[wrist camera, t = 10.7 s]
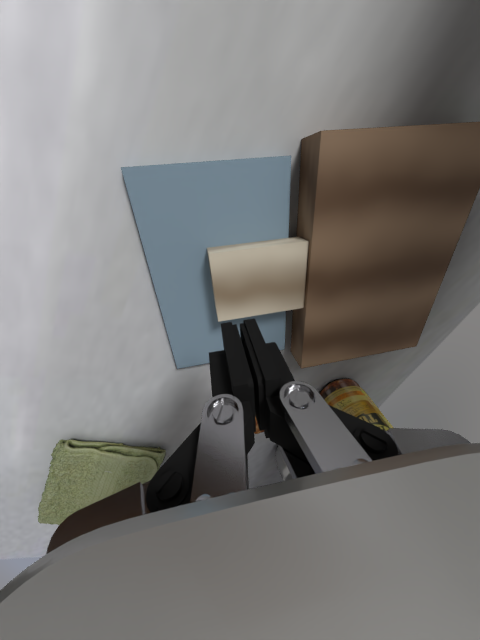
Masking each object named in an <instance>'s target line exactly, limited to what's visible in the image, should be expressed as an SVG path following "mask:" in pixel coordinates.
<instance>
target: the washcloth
mask: <svg viewBox="0 0 480 640" xmlns="http://www.w3.org/2000/svg"><path fill="white" fill-rule="evenodd" d="M165 454H166V450H160V447H159V448H150V447H131V446H127V445H123V444H122V443H120V444H117V443H108V442H83V441H76V440H72V439H71V440H60V441H59V442H58V444H56V447H55V448H54V450H53V453H52V454H51V456H52V457H53V459H52V461H51V463H50V464H51V466H50V468H49V469H50V470H49V471H50V472H49V475H48V478H47V481H46V484H45V485H46V486H45V491H44V492H43V493H42V499H41V500H42V501H41V502H40V504H39V508H38V511H39V516H38V517H39V518H38V522H39V523H46V524H47V523H48V524H58V525H60V524H61V523H62V522H63V521H64V520H65V519H66V518H67V517H68V516H70V515H71V514H73V513H74V512H76V511H78V510H80V509H82V508H84V507H86V506H89V505H91V504H93V503H95V502H97V501H99V500H102V499H104V498H106V497H108V496H110V495H112V494H115V493H117V492H119V491H121V490H123V489H125V488H128V487H130V486H132V485H134V484H136V483H138V482H141V484H143V483H145V482H148V481H150V480H151V479H152V478H153V476H154V475H155V473H156V472H157V471H158V470H159V469H160V465H161V463H162V462H163V460H164V457H165Z"/></svg>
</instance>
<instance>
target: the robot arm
mask: <svg viewBox="0 0 480 640" xmlns="http://www.w3.org/2000/svg"><path fill="white" fill-rule="evenodd" d="M221 331H222V339H223V346H224V350H221V351H215V352H209V362H210V374H211V385H212V398H211V399H210V400H209V401H207V403H206V404H205V406H204V408H203V411H202V418H201V423H200V424H199V425H198V427H197V428H196V429H195V430H194V431H193V432H192V433H191V434H190V435H189V437H188V438H187V439H186V440H185V441H184V442H183V443H182V444H181V445H180V447H179V448H178V449H177V450H176V451H175V452H174V453H173V454H172V455H171V457H170V458H169V459H168V460H167V461H166V462H165V463H164V464H163V466H162V467H161V468H160V469H159V470H158V471H157V472H156V473H155V475H154V476H153V478H152V479H151V480H150V481H148V482H145V483H143V484H141V482H138V483H136V484H134V485H132V486H130V487H128V488H125V489H123V490H121V491H119V492H117V493H115V494H112V495H110V496H108V497H106V498H104V499H102V500H99V501H97V502H95V503H93V504H91V505H89V506H86V507H84V508H82V509H80V510H78V511H76V512H74V513H73V514H71V515H70V516H68V517H67V518H66V519H65V520H64V521H63V522H62V523H61V524H60V525H59V526H58V528H57V529H56V531H55V532H54V534H53V536H52V537H51V540H50V543H49V546H48V548H47V553H46V555H44V556H43V557H42V558H40V559H39V560H37V561H36V562H34V563H33V564H32V565H30V566H29V567H27V568H26V569H25V570H24V571H22V572H21V573H20V574H19V575H17V576H16V577H15V578H14V579H13V580H11V581H10V582H9V583H8V584H7V585H6V586H5V587H4V588H3V589H1V590H0V640H480V443H470V442H469V441H468V440H467V439H465V438H464V437H462V436H461V435H459V434H456V433H454V432H452V431H448V430H442V429H441V430H440V429H404V428H389V429H388V431H384V430H382V429H381V428H379V427H377V426H375V425H373V424H371V423H368V422H366V421H364V420H362V419H359V418H357V417H355V416H353V415H350V414H348V413H346V412H344V411H341V410H339V409H337V408H335V407H332V406H330V405H328V404H327V403H326V401H325V400H324V399H323V398H322V396H321V395H320V394H319V393H318V391H317V390H316V389H315V388H314V387H313V386H311V385H310V384H308V383H305V382H302V381H295V380H294V378H293V376H292V374H291V372H290V370H289V368H288V366H287V364H286V362H285V360H284V358H283V356H282V354H281V352H280V350H279V348H278V346H277V344H276V343H275V342H271V343H265V341H264V338H263V336H262V334H261V331H260V329H259V327H258V324H257V322H256V320H255V319H247V320H243V323H240V334H239V331H238V328H237V324H234V325H232V322H227V323H221ZM240 336H241V338H240ZM255 416H256V420H257V423H258V427H259V430H260V431H263V430H264V432H265V436H266V438H270V440H271V441H273V442H274V443H276V444H278V448H279V451H280V453H281V455H282V457H283V459H284V461H285V463H286V465H287V468H288V470H289V472H290V474H291V476H292V478H293V479H292V480H287V481H283V482H279V483H274V484H270V485H266V486H261V487H257V488H253V489H249V478H248V457H247V454H248V453H249V451H250V450H251V448H252V446H253V445H254V443H255V442H254V432H256V420H255Z"/></svg>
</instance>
